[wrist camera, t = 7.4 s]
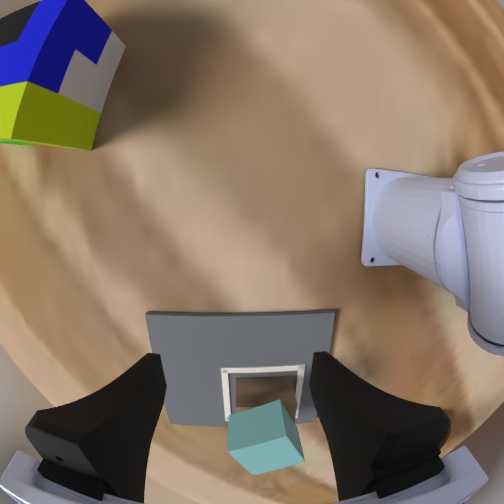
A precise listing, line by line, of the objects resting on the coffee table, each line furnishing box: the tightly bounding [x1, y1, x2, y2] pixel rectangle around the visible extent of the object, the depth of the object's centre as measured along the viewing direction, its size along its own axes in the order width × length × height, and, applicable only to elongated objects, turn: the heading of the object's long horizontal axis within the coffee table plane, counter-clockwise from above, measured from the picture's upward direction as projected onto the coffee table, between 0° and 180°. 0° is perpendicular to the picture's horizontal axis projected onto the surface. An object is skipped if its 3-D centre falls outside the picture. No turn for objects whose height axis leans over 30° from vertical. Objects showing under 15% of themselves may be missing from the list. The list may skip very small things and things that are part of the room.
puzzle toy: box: [0, 0, 126, 151], centre depth 12 cm, size 10×10×10 cm
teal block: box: [228, 399, 305, 475], centre depth 18 cm, size 4×4×4 cm
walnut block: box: [236, 376, 297, 423], centre depth 22 cm, size 5×5×4 cm
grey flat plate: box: [145, 310, 335, 427], centre depth 24 cm, size 16×14×1 cm
